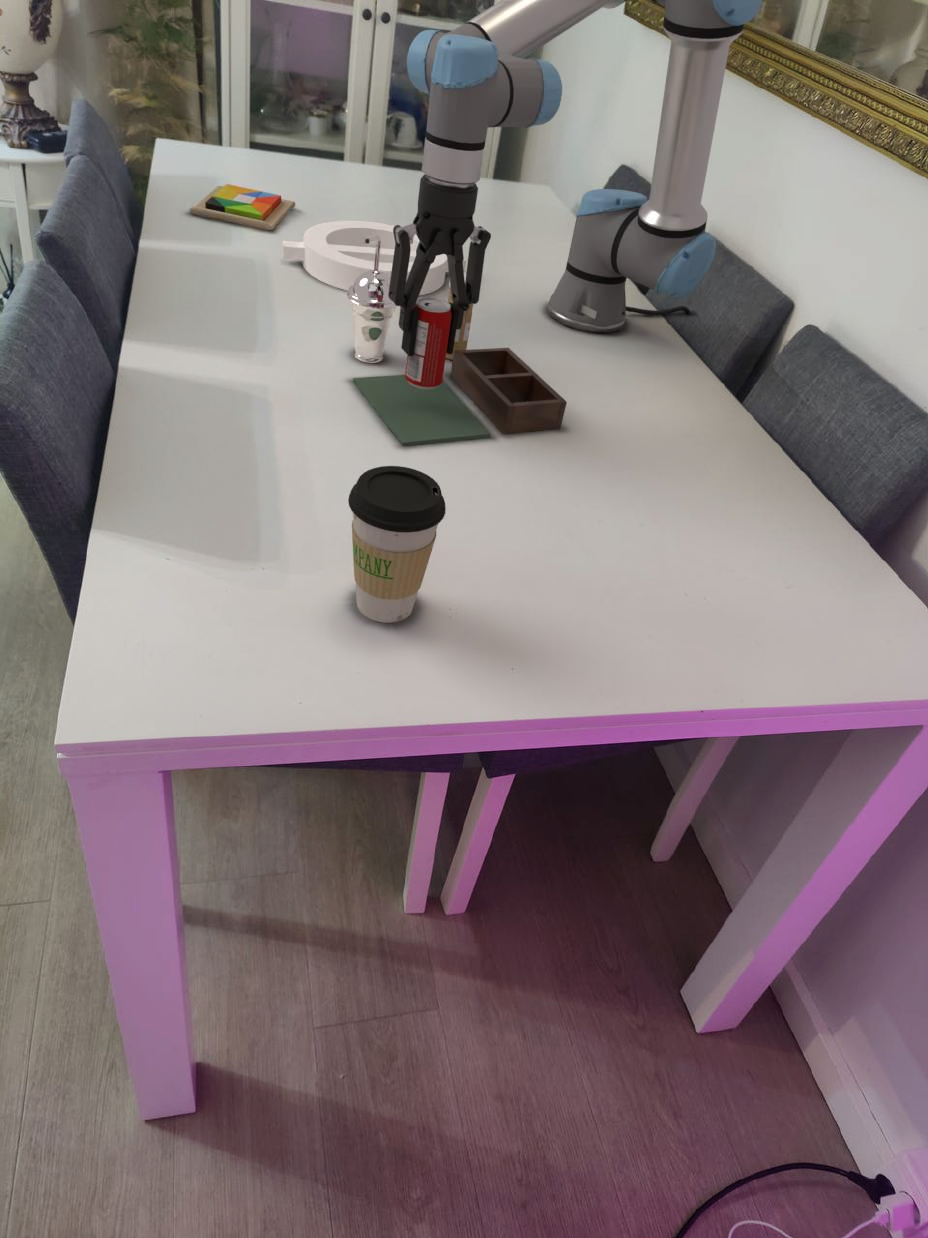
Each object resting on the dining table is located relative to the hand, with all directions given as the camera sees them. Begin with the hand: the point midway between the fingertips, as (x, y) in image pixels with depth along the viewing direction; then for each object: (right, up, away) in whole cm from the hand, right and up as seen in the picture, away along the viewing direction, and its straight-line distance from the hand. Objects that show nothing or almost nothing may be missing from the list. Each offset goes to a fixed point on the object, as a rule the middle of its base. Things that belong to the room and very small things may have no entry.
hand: (427, 350), depth 130 cm
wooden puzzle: (-42, +48, +63) cm, 90 cm away
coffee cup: (-3, -37, -31) cm, 49 cm away
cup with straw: (-10, +4, +17) cm, 20 cm away
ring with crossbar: (-13, +30, +49) cm, 59 cm away
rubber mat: (-1, -7, +6) cm, 9 cm away
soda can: (-1, -4, +3) cm, 5 cm away
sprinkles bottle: (+3, +6, +23) cm, 24 cm away
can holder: (+12, -5, +12) cm, 17 cm away
